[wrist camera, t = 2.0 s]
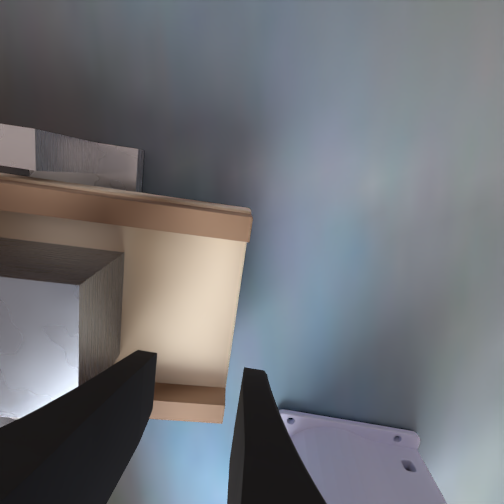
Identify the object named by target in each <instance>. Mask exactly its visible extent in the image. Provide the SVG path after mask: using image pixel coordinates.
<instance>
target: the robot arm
mask: <svg viewBox="0 0 504 504" xmlns="http://www.w3.org/2000/svg"><path fill="white" fill-rule="evenodd" d="M156 363H157V353H154V352H148V351H142V350H137V351H135V352H133V353H131V354H130V355H128V356H127V357H125V358H123V359H122V360H120V361H119V362H117V363H116V364H114V365H112V366H111V367H109V368H108V369H106V370H104V371H103V372H101V373H99V374H98V375H96V376H95V377H93V378H91V379H90V380H88V381H86V382H85V383H83V384H81V385H80V386H78V387H76V388H75V389H73V390H71V391H69V392H67V393H66V394H64V395H62V396H60V397H59V398H57V399H55V400H53V401H51V402H50V403H48V404H46V405H44V406H42V407H41V408H39V409H37V410H35V411H33V412H31V413H29V414H27V415H25V416H23V417H21V418H19V419H17V420H15V421H13V422H11V423H9V424H7V425H5V426H3V427H1V428H0V504H106V503H107V501H108V500H109V498H110V496H111V494H112V492H113V490H114V489H115V487H116V485H117V483H118V481H119V479H120V478H121V476H122V474H123V472H124V470H125V468H126V466H127V465H128V463H129V461H130V459H131V457H132V455H133V453H134V452H135V450H136V448H137V446H138V444H139V442H140V439H141V437H142V435H143V432H144V430H145V427H146V425H147V422H148V420H149V417H150V415H151V413H152V410H153V400H154V388H155V375H156ZM288 418H294V419H292V420H289V419H288ZM395 436H397V437H395ZM419 444H420V438H419V436H418V434H417V433H416V432H414V431H410V430H404V429H398V428H392V427H386V426H380V425H374V424H368V423H362V422H356V421H350V420H344V419H338V418H333V417H327V416H321V415H315V414H309V413H303V412H297V411H291V410H285V409H281V410H278V408H277V405H276V402H275V400H274V397H273V394H272V391H271V388H270V385H269V381H268V377H267V374H266V373H265V371H263V370H257V369H251V368H245V367H244V372H243V378H242V384H241V390H240V396H239V403H238V409H237V415H236V421H235V428H234V435H233V442H232V448H231V455H230V466H229V482H228V499H227V504H447V503H446V501H445V499H444V497H443V495H442V493H441V492H440V490H439V488H438V486H437V484H436V483H435V481H434V479H433V477H432V475H431V473H430V472H429V470H428V468H427V466H426V464H425V463H424V461H423V459H422V457H421V455H420V454H419V452H418V447H419Z"/></svg>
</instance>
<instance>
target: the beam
mask: <svg viewBox="0 0 504 504" xmlns="http://www.w3.org/2000/svg"><path fill="white" fill-rule="evenodd" d="M252 221H253V217H252V215H251V210H250V209H249V208H246V207H239V206H232V205H225V204H218V203H211V202H204V201H197V200H189V199H182V198H175V197H168V196H161V195H154V194H147V193H140V192H133V191H126V190H119V189H112V188H105V187H98V186H91V185H84V184H77V183H69V182H62V181H55V180H48V179H41V178H34V177H27V176H20V175H13V174H6V173H0V237H2V238H10V239H18V240H26V241H35V242H43V243H51V244H59V245H68V246H76V247H84V248H93V249H101V250H109V251H117V252H125V255H124V276H123V298H122V319H121V340H120V355H119V356H118V358H117V359H116V361H115V363H114V364H116V363H117V362H119V361H120V360H122V359H123V358H125V357H127V356H128V355H130V354H131V353H133V352H135V351H137V350H142V351H148V352H154V353H157V363H156V375H155V388H154V400H153V410H152V413H151V415H150V417H149V419H161V420H176V421H191V422H206V423H221V424H222V422H223V416H224V409H225V387H226V380H227V374H228V367H229V360H230V353H231V346H232V340H233V333H234V326H235V319H236V312H237V305H238V299H239V292H240V285H241V278H242V271H243V264H244V258H245V251H246V244H247V242H249V241H250V234H251V227H252ZM114 364H113V365H114Z"/></svg>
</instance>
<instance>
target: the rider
mask: <svg viewBox="0 0 504 504" xmlns="http://www.w3.org/2000/svg"><path fill="white" fill-rule="evenodd" d="M124 255H125V252H117V251H109V250H101V249H93V248H84V247H76V246H68V245H59V244H51V243H43V242H35V241H26V240H18V239H10V238H2V237H0V417H14V418H21V417H23V416H25V415H27V414H29V413H31V412H33V411H35V410H37V409H39V408H41V407H42V406H44V405H46V404H48V403H50V402H51V401H53V400H55V399H57V398H59V397H60V396H62V395H64V394H66V393H67V392H69V391H71V390H73V389H75V388H76V387H78V386H80V385H81V384H83V383H85V382H86V381H88V380H90V379H91V378H93V377H95V376H96V375H98V374H99V373H101V372H103V371H104V370H106V369H108V368H109V367H111V366H112V365H113V364H114V363H115V361H116V359H117V358H118V356H119V355H120V340H121V319H122V298H123V276H124Z"/></svg>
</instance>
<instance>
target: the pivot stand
mask: <svg viewBox="0 0 504 504" xmlns="http://www.w3.org/2000/svg"><path fill="white" fill-rule="evenodd" d="M143 161H144V150H140V149H135V148H128V147H122V146H115V145H109V144H102V143H96V142H92V141H87V140H83V139H78V138H74V137H69V136H65V135H60V134H56V133H51V132H47V131H42V130H38V129H32V128H26V127H19V126H13V125H6V124H0V165H1V166H8V167H14V168H21V169H27V170H30V177H34V178H41V179H48V180H55V181H62V182H69V183H77V184H84V185H91V186H98V187H105V188H112V189H119V190H126V191H133V192H140V193H142V179H143ZM11 419H19V418H14V417H11Z"/></svg>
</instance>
